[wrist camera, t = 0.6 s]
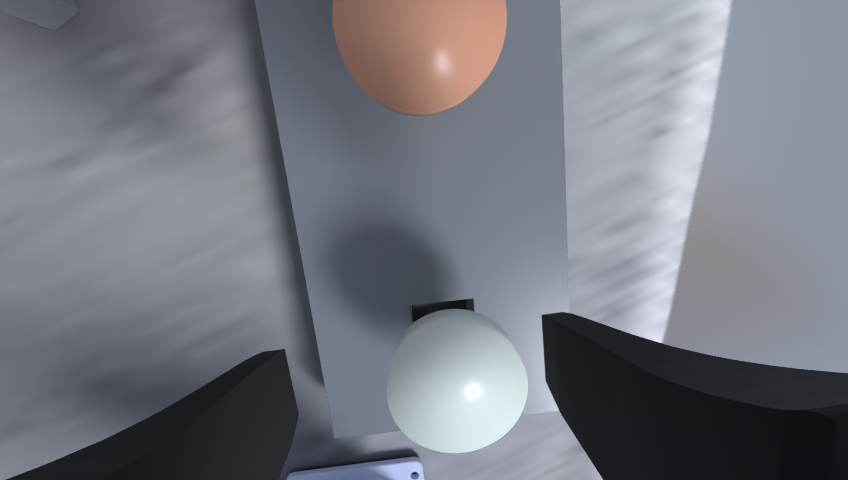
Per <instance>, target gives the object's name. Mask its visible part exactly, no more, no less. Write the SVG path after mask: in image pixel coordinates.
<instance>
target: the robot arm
mask: <svg viewBox="0 0 848 480" xmlns="http://www.w3.org/2000/svg"><path fill="white" fill-rule="evenodd" d="M541 316H542V332H543V348H544V365H545V381H546V383H547V385H548V387H549V390H550V392H551V394H552V396H553V398H554V401H555V403H556V405H557V407H558V409H559V411H560V413H561V414H562V416H563V418H564V419H565V421H566V422H567V424H568V425H569V427H570V429H571V430H572V432H573V433H574V435H575V437H576V438H577V440H578V441H579V443H580V444H581V446H582V447H583V449H584V450H585V452H586V454H587V455H588V457H589V458H590V460H591V461H592V463H593V464H594V466H595V467H596V469H597V471H598V472H599V474H600V475H601V477H602V478H603V480H848V373H835V372H825V371H815V370H804V369H795V368H786V367H778V366H770V365H763V364H757V363H751V362H744V361H738V360H732V359H726V358H721V357H716V356H711V355H706V354H702V353H698V352H693V351H689V350H684V349H680V348H676V347H672V346H669V345H665V344H662V343H658V342H655V341H652V340H648V339H645V338H642V337H638V336H635V335H632V334H629V333H626V332H623V331H620V330H617V329H615V328H612V327H609V326H606V325H603V324H601V323H598V322H595V321H592V320H589V319H586V318H584V317H581V316H577V315H574V314H571V313H566V312H559V313H551V314H544V315H541ZM298 415H299V414H298V410H297V405H296V400H295V396H294V391H293V386H292V381H291V377H290V372H289V367H288V363H287V358H286V353H285V349H281V350H274V351H266V352H262V353H259V354H257V355H255V356H253V357H251V358H249V359H247V360H245V361H244V362H242V363H240V364H239V365H237V366H235V367H234V368H232V369H230V370H229V371H227V372H226V373H224V374H222V375H221V376H219V377H217V378H216V379H214V380H213V381H211V382H209V383H208V384H206V385H205V386H203V387H201V388H200V389H198V390H196V391H194V392H193V393H191V394H189V395H188V396H186V397H184V398H182V399H181V400H179V401H177V402H176V403H174V404H172V405H170V406H169V407H167V408H165V409H163V410H162V411H160V412H158V413H156V414H154V415H153V416H151V417H149V418H147V419H145V420H143V421H141V422H139V423H137V424H135V425H133V426H131V427H129V428H127V429H125V430H123V431H121V432H119V433H117V434H115V435H113V436H111V437H108V438H106V439H104V440H102V441H100V442H97V443H95V444H93V445H90V446H88V447H86V448H83V449H81V450H79V451H76V452H74V453H72V454H69V455H67V456H65V457H62V458H60V459H58V460H55V461H53V462H50V463H48V464H46V465H43V466H41V467H38V468H35V469H33V470H30V471H27V472H25V473H22V474H20V475H17V476H14V477H12V478H9V479H6V480H278V479H279V476H280V474H281V471H282V468H283V466H284V463H285V461H286V458H287V456H288V453H289V450H290V447H291V443H292V440H293V436H294V432H295V428H296V423H297V419H298ZM413 472H417V474H412V473H413ZM286 480H424V474H423V466H422V461H421V460H420V459H419V458H418V457H407V458H399V459H391V460H383V461H376V462H368V463H360V464H352V465H345V466H337V467H329V468H321V469H314V470H306V471H298V472H292V473H290V474H289V475H288V477H287V479H286Z"/></svg>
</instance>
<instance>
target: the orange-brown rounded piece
mask: <svg viewBox="0 0 848 480" xmlns="http://www.w3.org/2000/svg"><path fill="white" fill-rule="evenodd" d="M332 19H333V30H334V35H335V40H336V43H337V46H338V49H339V52H340V55H341V57H342V59H343V61H344V63H345V65H346V66H347V68H348V70H349V71H350V73H351V74H352V76H353V77H354V79H355V80H356V82H357V83H358V85H359V86H360V87H361V88H362V90H363V91H364V92H365V93H366V94H367V95H368V96H369V97H370V98H371V99H373V100H374V101H375V102H377V103H378V104H380V105H381V106H383V107H385V108H387V109H389V110H391V111H394V112H396V113H399V114H404V115H408V116H430V115H435V114H439V113H442V112H445V111H447V110H449V109H452V108H454V107H455V106H457V105H458V104H460V103H461V102H463V101H464V100H465V99H466V98H468V97H469V96H470V95H471V94H472V93H473V92H474V91H475V90H476V89H477V88H478V87H479V86H480V85H481V84H482V83H483V82H484V81H485V80H486V78H487V77H488V75H489V74H490V73H491V71H492V70H493V68H494V66H495V64H496V62H497V60H498V58H499V55H500V53H501V50H502V47H503V43H504V39H505V34H506V26H507V8H506V0H333V9H332Z"/></svg>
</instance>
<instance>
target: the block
mask: <svg viewBox="0 0 848 480" xmlns="http://www.w3.org/2000/svg"><path fill="white" fill-rule="evenodd" d="M254 1H255V6H256V12H257V17H258V23H259V28H260V33H261V39H262V44H263V50H264V55H265V61H266V66H267V72H268V77H269V83H270V88H271V94H272V99H273V105H274V110H275V116H276V121H277V127H278V132H279V138H280V143H281V148H282V154H283V159H284V165H285V170H286V176H287V181H288V187H289V192H290V198H291V203H292V209H293V214H294V220H295V225H296V231H297V236H298V242H299V247H300V253H301V258H302V263H303V269H304V274H305V280H306V285H307V291H308V296H309V302H310V307H311V313H312V318H313V324H314V329H315V335H316V340H317V346H318V351H319V357H320V362H321V368H322V373H323V378H324V384H325V389H326V395H327V400H328V406H329V411H330V417H331V422H332V428H333V433H334V439H338V438H346V437H354V436H362V435H370V434H378V433H385V432H393V431H401V430H400V428H399V427H398V426H397V424H396V423H395V421H394V419H393V417H392V415H391V412H390V410H389V406H388V402H387V383H388V370H389V360H390V356H391V352H392V350H393V347H394V345H395V343H396V341H397V340H398V338H399V337H400V335H401V334H402V333H403V332H404V331H405V330H406V329H407V328H408V327H409V326H410V325H411V324H412V323H413V315H412V307H411V306H413V305H422V304H430V303H438V302H447V301H455V300H463V299H466V306H467V310H470V311H474V312H477V313H480V314H482V315H484V316H486V317H488V318H490V319H491V320H493V321H494V322H495V323H497V324H498V325H499V326H500V327H501V328H502V329H503V330H504V332H505V333H506V334H507V336H508V337H509V339H510V341H511V342H512V344H513V346H514V348H515V349H516V351H517V353H518V355H519V356H520V358H521V360H522V362H523V364H524V367H525V370H526V373H527V379H528V394H527V400H526V403H525V406H524V409H523V411H522V413H521V415H527V414H535V413H543V412H551V411H559V409H558V407H557V405H556V403H555V401H554V398H553V396H552V394H551V392H550V390H549V387H548V385H547V383H546V381H545V365H544V348H543V332H542V316H541V315H544V314H551V313H559V312H566V313H569V282H568V249H567V216H566V182H565V149H564V115H563V82H562V49H561V15H560V0H506V8H507V26H506V34H505V39H504V43H503V47H502V50H501V53H500V55H499V58H498V60H497V62H496V64H495V66H494V68H493V70H492V71H491V73H490V74H489V75H488V77H487V78H486V80H485V81H484V82H483V83H482V84H481V85H480V86H479V87H478V88H477V89H476V90H475V91H474V92H473V93H472V94H471V95H470V96H469V97H468V98H466V99H465V100H464V101H463V102H461V103H460V104H458V105H457V106H455V107H454V108H452V109H449V110H447V111H445V112H442V113H439V114H435V115H430V116H408V115H404V114H399V113H396V112H394V111H391V110H389V109H387V108H385V107H383V106H381V105H380V104H378V103H377V102H375V101H374V100H373V99H371V98H370V97H369V96H368V95H367V94H366V93H365V92H364V91H363V90H362V88H361V87H360V86H359V85H358V83H357V82H356V80H355V79H354V77H353V76H352V74H351V73H350V71H349V70H348V68H347V66H346V65H345V63H344V61H343V59H342V57H341V55H340V52H339V49H338V46H337V43H336V40H335V35H334V30H333V19H332V9H333V0H254Z"/></svg>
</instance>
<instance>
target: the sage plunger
mask: <svg viewBox="0 0 848 480" xmlns="http://www.w3.org/2000/svg"><path fill="white" fill-rule="evenodd" d="M527 394H528V379H527V373H526V370H525V367H524V364H523V362H522V360H521V358H520V356H519V355H518V353H517V351H516V349H515V348H514V346H513V344H512V342H511V341H510V339H509V337H508V336H507V334H506V333H505V332H504V330H503V329H502V328H501V327H500V326H499V325H498V324H497V323H495V322H494V321H493V320H491V319H490V318H488V317H486V316H484V315H482V314H480V313H477V312H474V311H470V310H465V309H446V310H440V311H436V312H433V313H430V314H428V315H426V316H423V317H421V318H420V319H418V320H417V321H415V322H414V323H412V324H411V325H410V326H409V327H408V328H407V329H406V330H405V331H404V332H403V333H402V334H401V335H400V337H399V338H398V340H397V341H396V343H395V345H394V347H393V350H392V352H391V356H390V360H389V370H388V383H387V402H388V406H389V410H390V412H391V415H392V417H393V419H394V421H395V423H396V424H397V426H398V427H399V428H400V430H401V431H402V432H403V433H404V434H405V435H406V436H407V437H409V438H410V439H411V440H413V441H414V442H416V443H417V444H419V445H421V446H423V447H426V448H428V449H431V450H435V451H438V452H445V453H464V452H469V451H474V450H477V449H480V448H483V447H485V446H488V445H490V444H492V443H493V442H495V441H497V440H498V439H500V438H501V437H502V436H504V435H505V434H506V433H507V432H508V431H509V430H510V429H511V428H512V427H513V425H514V424H515V423H516V422H517V420H518V418H519V417H520V415H521V413H522V411H523V409H524V406H525V403H526V400H527Z"/></svg>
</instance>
